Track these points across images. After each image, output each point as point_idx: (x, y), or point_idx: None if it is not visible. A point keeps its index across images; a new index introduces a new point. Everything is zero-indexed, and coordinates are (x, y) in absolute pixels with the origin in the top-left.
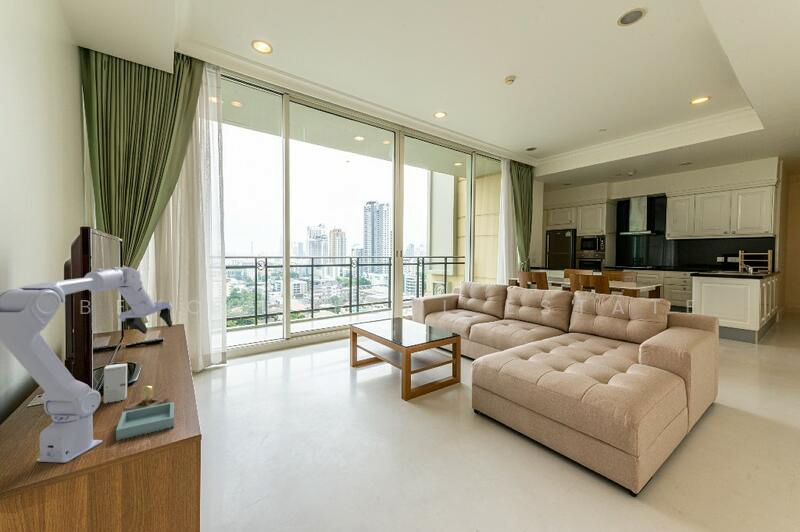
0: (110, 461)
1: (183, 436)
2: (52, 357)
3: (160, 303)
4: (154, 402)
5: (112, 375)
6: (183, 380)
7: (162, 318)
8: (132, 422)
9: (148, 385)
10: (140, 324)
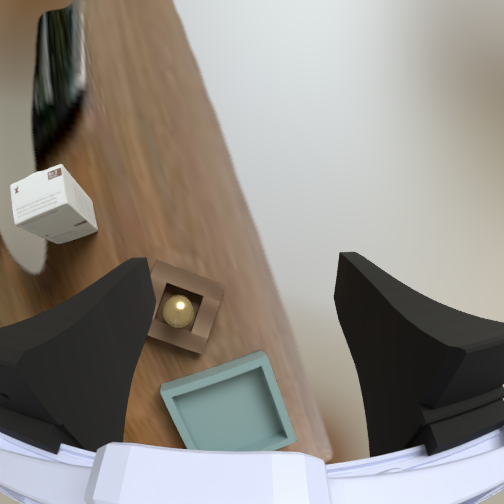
0: None
1: None
2: None
3: (479, 479)
4: (199, 310)
5: (44, 223)
6: (207, 114)
7: (369, 426)
8: (193, 406)
9: (179, 302)
10: (117, 351)
